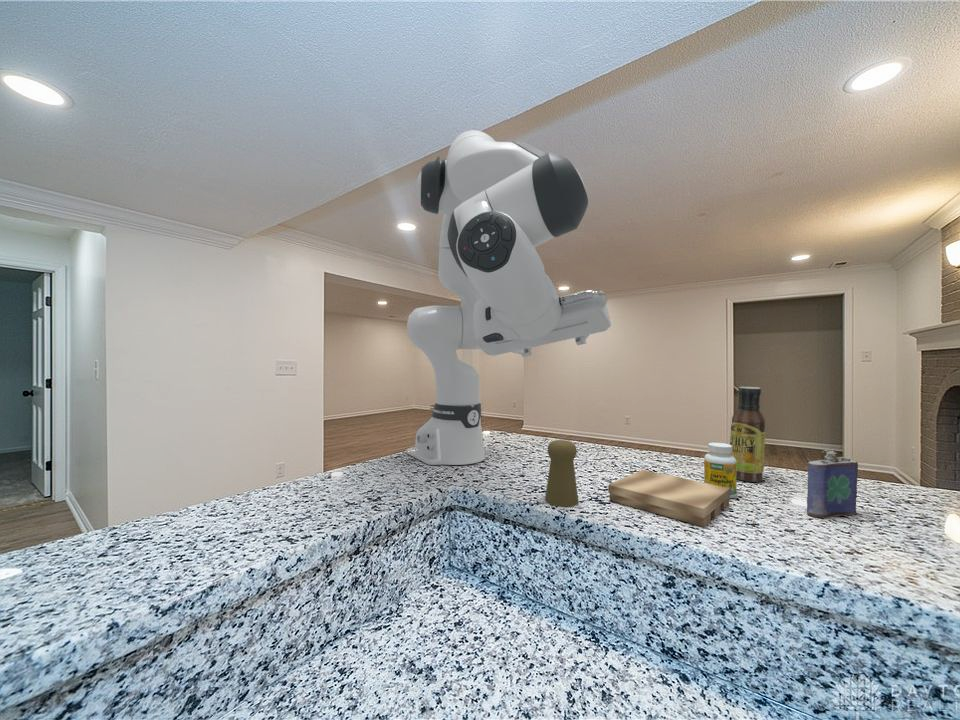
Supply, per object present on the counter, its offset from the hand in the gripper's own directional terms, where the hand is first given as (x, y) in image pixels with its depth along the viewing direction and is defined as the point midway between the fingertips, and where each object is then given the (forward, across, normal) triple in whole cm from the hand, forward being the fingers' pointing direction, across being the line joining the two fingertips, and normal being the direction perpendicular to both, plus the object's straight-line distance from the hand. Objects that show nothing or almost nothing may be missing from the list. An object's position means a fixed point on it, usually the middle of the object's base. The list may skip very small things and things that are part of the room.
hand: (553, 346), depth 69 cm
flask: (+29, -37, +28) cm, 55 cm away
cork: (+16, +5, +23) cm, 29 cm away
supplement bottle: (+32, -22, +23) cm, 45 cm away
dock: (+23, -12, +24) cm, 36 cm away
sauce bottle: (+44, -29, +19) cm, 56 cm away
